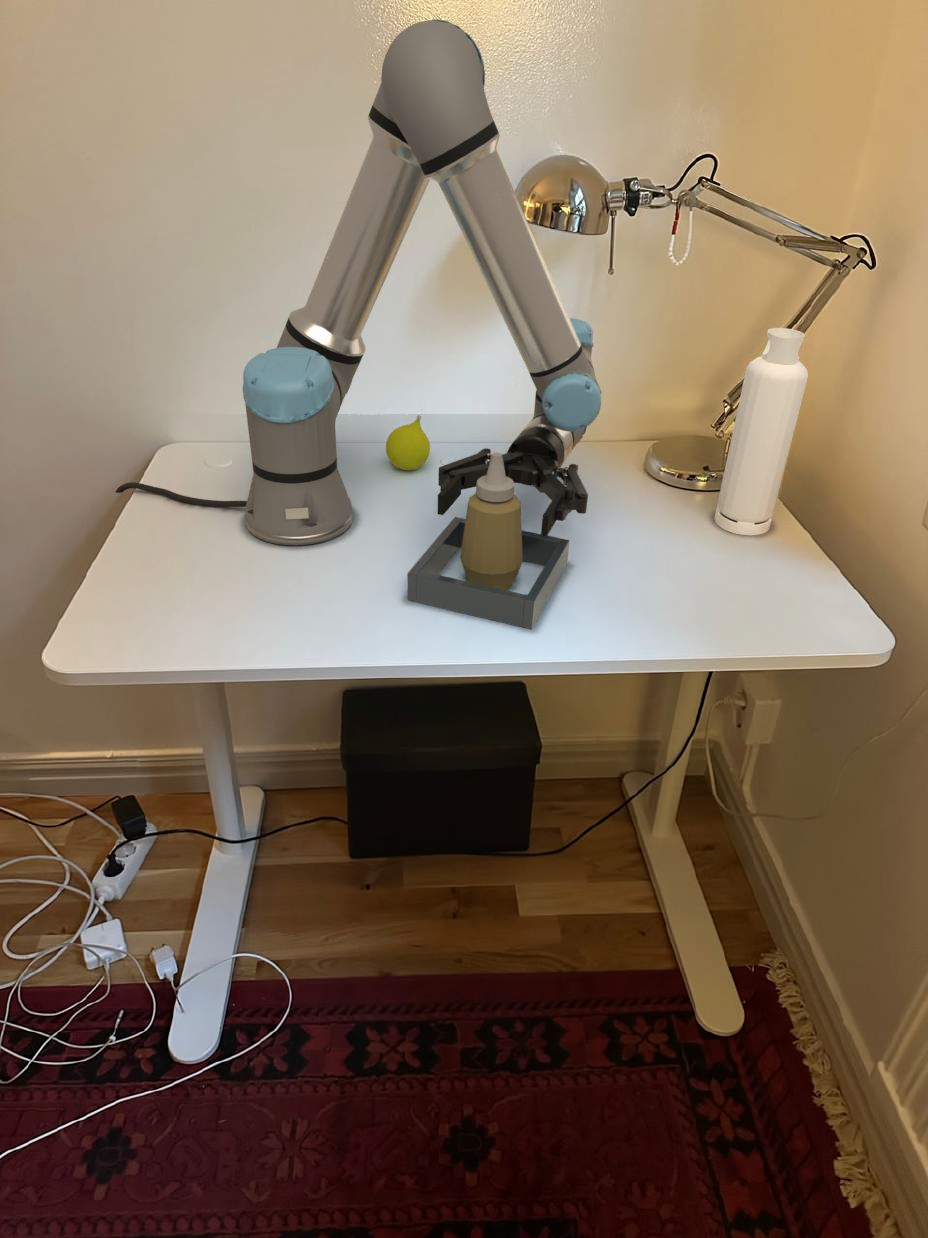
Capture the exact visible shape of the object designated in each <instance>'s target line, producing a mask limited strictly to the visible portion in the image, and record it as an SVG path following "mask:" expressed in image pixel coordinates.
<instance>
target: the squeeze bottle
mask: <svg viewBox="0 0 928 1238" xmlns="http://www.w3.org/2000/svg"><path fill="white" fill-rule="evenodd" d="M491 455H492V457H491V461H490V464H489V468H488V471H487V475H486V476H482V477H481V478H479V479H478V480H477V484H476V487H475V493H474V494H472V495H470V497H469V498H468V501H467V508H466V516H465V519H466V521H465V528H464V535H463V542H462V548H460V554H459V559H460V562H461V565H462V568H463V571H464V574H465V577H466V581H468V582H472V583H476V584H481V585H485V586H490V587H494V588H499V589H503V590H508V589H510V588H511V587H512V586H513V584H514V582H515V580H516V577H517V575H518V573H519V571H520V569H521V567H522V565H523V561H522V560H523V551H522V530H523V529H522V528H523V527H522V525H523V524H522V502H521V500H520V499H519V497H518V496H517V495H515V484H516V483H514V481H513V480H512V479H510V478H509V477H506V475H505V469H504V463H503V457H502V455H503V453H501V452H498V451H497V452H496V451H495V452H492V453H491Z"/></svg>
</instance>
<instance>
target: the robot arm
mask: <svg viewBox="0 0 928 1238" xmlns="http://www.w3.org/2000/svg"><path fill="white" fill-rule="evenodd" d="M381 67H382V68H381V78H380V81H381V82H380V85H379V87H378V89H377V92H376V95H375V98H374V100H373V102H372V105H371V107H370V110H369V113H368V115H367V120H368V124H369V127H370V131H371V132H372V139H371V141H370V144H369V147H368V149H367V152H366V154H365V156H364V160H363V161H362V164H361V165H360V166H361V167H360V168H359V170H358V174H357V175H356V176H357V177H356V178H355V181H354V184H353V187H352V188H351V191H350V194H349V196H348V199H347V201H346V204H345V206H344V209H343V211H342V214H341V216H340V219H339V220H338V224H337V226H336V229H335V231H334V234H333V236H332V238H331V241H330V243H329V246H328V249H327V251H326V253H325V255H324V258H323V261H322V264H321V266H320V268H319V271H318V273H317V276H316V278H315V281H314V283H313V285H312V288H311V291H310V293H309V296H308V297H307V301H306V303H305V305H304V306H303V307H300V308H297V309H294V310H291V312H290V313H289V316H288V318H287V320H286V322H285V326H284V328H283V331H282V333H281V335H280V338H279V341H278V342H277V345H276V348H275V347H274V348H271V349H267V350H266V352H265V353H264V352H260V353H258V354H256V355H255V356H253V357H252V358H250V360H249V361H248V362H247V363H246V365H245V367H244V370H243V376H242V380H243V381H242V397H243V400H244V404H245V405H244V406H245V412H246V413H245V414H246V420H247V429H248V439H249V446H250V447H249V448H250V456H251V463H252V472H253V473H252V479H251V482H250V488H249V492H248V494H247V500H214V499H205V498H197V497H190V496H187V495H182V494H179V493H177V492H173V491H171V490H170V489H169V490H168V489H166V488H162V487H157V486H152V485H148V484H146V483H145V484H144V483H140V482H135V481H133V482H131V481H130V482H126V483H123V484H121V485H120V486H118V487H117V489H116V490H115V493H116V494H122V493H124V491H126V490H130V489H135V490H141V491H145V492H149V493H153V494H158V495H162V496H165V497H168V498H171V499H172V500H175V501H178V502H183V503H187V504H193V505H197V506H205V507H216V508H245V510H244V511H245V512H244V517H245V525H246V528H247V530H248V532H250V534H251V535H253V536H254V537H256V538H257V539H259V540H262V541H264V542H267V543H271V544H275V545H280V546H281V545H283V546H307V545H315V544H319V543H323V542H326V541H329V540H332V539H334V538H337V537H338V536H340V535H342V534H344V533H345V532H346V531H347V530H348V529H350V527H351V526H352V524H353V520H354V512H353V505H352V502H351V499H350V496H349V494H348V492H347V490H346V486H345V484H344V482H343V479H342V477H341V474H340V472H339V468H338V455H337V453H338V452H337V436H336V420H337V418H338V414H339V412H340V409H341V407H342V404H343V403H344V399H345V397H346V395H347V394H348V392H349V390H350V388H351V385H352V382H353V379H354V377H355V375H356V373H357V370H358V368H359V366H360V364H361V361H362V359H363V357H364V354H365V352H366V345H365V342H364V340H363V337H362V333H363V330H364V328H365V326H366V324H367V322H368V319H369V317H370V315H371V313H372V311H373V309H374V306H375V304H376V301H377V299H378V297H379V295H380V293H381V290H382V288H383V286H384V284H385V281H386V279H387V277H388V275H389V273H390V270H391V269H392V266H393V264H394V261H395V259H396V257H397V254H398V253H399V251H400V248H401V246H402V243H403V242H404V239H405V237H406V234H407V232H408V230H409V227H410V226H411V223H412V221H413V219H414V216H415V215H416V212H417V210H418V208H419V206H420V203H421V201H422V199H423V196H424V194H425V192H426V190H427V188H428V185H429V183H430V181H434V182H435V183H437V184H438V186H439V188H440V190H441V192H442V194H443V196H444V198H445V200H446V203H447V205H448V207H449V208H450V211H451V213H452V215H453V217H454V219H455V221H456V223H457V225H458V227H459V229H460V231H461V233H462V235H463V238H464V240H465V243H466V244H467V245H468V249H469V250H470V252H471V255H472V256H473V259H474V260H475V262H476V265H477V267H478V269H479V271H480V273H481V275H482V277H483V279H484V282H485V284H486V286H487V288H488V290H489V293H490V294H491V295H492V298H493V300H494V302H495V304H496V306H497V308H498V310H499V312H500V315H501V316H502V319H503V321H504V324H505V325H506V327H507V329H508V331H509V333H510V335H511V337H512V339H513V341H514V344H515V347H516V348H517V350H518V352H519V355H520V356H521V358H522V361H523V363H524V364H525V367H526V369H527V370H528V373H529V377H530V378H531V381H532V382H533V384H534V387H535V389H536V390H535V396H534V397H535V399H534V410H533V417H532V419H531V420H530V421H529V423H528V424H527V425H526V426H525V427H524V428H523V430H521V432H520V433H519V434H518V435H517V437H516V438H515V439H514V440H513V441H512V442H511V444H510V446H509V447H508V449H507V451H506V452H505V453H502V457H503V463H504V469H505V475H506V477H509V478H510V479H512V480H513V481H514V483H515V484H522V485H523V486H524V485H525V486H529V487H531V486H532V487H534V488H535V489H536V490H537V491H539V493H540V494H543V493H544V494H545V495H546V497H548V498H549V500H550V501H551V502H550V503H549V504H548V506H547V508H546V509H545V511H544V513H543V514H542V519H541V531H540V534H541V535H544V536H549V534H550V532H551V531H552V529H553V527H554V526H555V524H556V522H557V521H560V522H563V521H565V520H566V518H567V517H568V515H569V514H570V513H571V512H572V511H576V513H578V514H580V515H581V514H582V515H584V514H586V513H587V509H588V500H589V493H588V492H587V490H586V487H585V485H584V483H583V482H582V479H581V478H580V476H579V474H578V473H579V472H578V471H579V465H578V464H576V463H570V464H569V465H568V467H566V466H565V467H563V465H564V464H565V462H566V460H567V459H568V458H569V456H570V454H571V453H572V451H573V450H574V449H575V447H576V446H577V444H578V443H579V442H581V440H582V439H583V437H584V436H585V434H586V431H587V428H588V427H589V426H590V425H592V424H593V423H594V421H595V420H596V419H597V417H598V416H599V414H600V410H601V407H602V389H601V387H600V386H599V383H598V381H597V380H598V379H597V377H596V373H595V369H594V366H593V361H592V353H593V352H592V351H593V348H594V342H593V341H594V328H593V326H592V325H591V324H590V323H589V322H588V321H585V320H582V319H579V318H574V317H573V318H572V317H570V316H569V314H568V311H567V309H566V307H565V305H564V303H563V300H562V298H561V295H560V293H559V291H558V289H557V286H556V284H555V282H554V279H553V277H552V274H551V273H550V269H549V268H548V265H547V263H546V260H545V259H544V256H543V253H542V252H541V249H540V247H539V244H538V242H537V240H536V238H535V236H534V233H533V231H532V228H531V226H530V224H529V222H528V220H527V217H526V215H525V212H524V210H523V208H522V206H521V203H520V201H519V198H518V196H517V194H516V192H515V190H514V187H513V185H512V183H511V180H510V178H509V175H508V173H507V171H506V168H505V166H504V164H503V162H502V160H501V158H500V155H499V153H498V149H497V146H498V143H499V139H500V136H501V134H500V132H499V129H498V127H497V125H496V123H495V120H494V118H493V115H492V112H491V110H490V106H489V103H488V98H487V96H486V95H487V94H486V92H485V84H486V81H485V80H486V70H485V62H484V60H483V56H482V54H481V51H480V48H479V47H478V45H477V44H476V42H475V40H474V38H472V36H471V35H470V34H469V33H467V32H466V31H464V29H462V28H461V27H460V26H459V25H457V24H454V23H452V22H451V21H449V20H445V19H437V18H434V19H426V20H423V21H418V22H416V23H413V24H411V25H409V26H408V27H406V28H405V29H403V30H402V31H400V33H398V34H397V35H396V37H395V38H394V39H393V41H392V42H391V43H390V45H389V46H388V49H387V51H386V53H385V55H384V59H383V63H382V66H381ZM491 457H492V450H491V449H490V448H485V447H484V448H482V449H481V450H480V451H478V452H477V453H474V454H472V455H469V456H467V457H464V458H461V459H459V460H455V461H453V462H450V463H447V464H444V465H441V466H439V467H438V479H437V480H438V482H437V483H438V484H437V485H438V487H439V488H440V491H439V493H437V515H440V516H444V515H445V514H446V513H447V511H448V510H449V509H450V508H451V507H452V506H453V504H454V503H456V501H457V500H458V498H459V497H460V496H461V495H462V491H463V490H468V489H472V488H476V484H477V480H478V479H479V478H481V477H482V476H486V475H487V471H488V468H489V464H490V461H491ZM559 478H560V479H561V480H559Z"/></svg>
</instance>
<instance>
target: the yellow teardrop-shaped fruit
mask: <svg viewBox="0 0 928 1238" xmlns="http://www.w3.org/2000/svg"><path fill="white" fill-rule="evenodd" d="M421 411H423V409H422V408H421ZM421 419H422V415H421V414H418V415H417V417H416V419H415V420H414V421H413V422H412V423H409V424H404V425H401V426H398V427H397V428H395V429H393V430H392V432H391V433H390V434H389V435H388V437H387V439H386V442H385V453H386V456H387V459H388V460H389V461H390V462H391V464H392V465H393V466H395V467H396V468H398V469H400V470H403V471H413V470H417V469H418V468H420V467H422V466H423V465H425V463H426V462H427V460H428V458H429V456H430V453H431V444H430V440H429V438H428V436H427V434H426V433H425V432H424V430H423V428H422V426H421Z"/></svg>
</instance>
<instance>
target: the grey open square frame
mask: <svg viewBox="0 0 928 1238" xmlns="http://www.w3.org/2000/svg"><path fill="white" fill-rule="evenodd" d="M465 521H466V518H463V517H458V516H454V518H453V519H451V521H450V522H449V523H448V525H447V526H446V527H445V528H444V529H443V531H442V532H441V533H440V534H439V535H438V536H437V538H436V539H435V540H434V541H433V542H432V543H431V545H430V546H429V547H428V548H427V550H425V552H424V553H423V554H422V556H420V557H419V559H418V560H417V561H416V563H414V565H413V566H412V567H411V569H410V570H409V571H408V572H407V573H406V574H407V577H406V578H407V601H408V602H413V603H418V604H422V605H426V606H430V607H435V608H439V609H444V610H447V611H452V612H455V613H460V614H465V615H468V616H472V617H476V618H482V619H486V620H490V621H494V622H498V623H503V624H507V625H511V626H516V627H518V628H519V627H520V628H523V629H524V628H525V629H529V630H532V629H533V628H534V626H535V624H536V622H537V620H538V619H539V617H540V615H541V613H542V612H543V610H544V608H545V607H546V605H547V602H548V601H549V599H550V597H551V595H552V594H553V592H554V589H555V588H556V586H557V585H558V583H559V581H560V579H561V577H562V575H563V574H564V572H565V571H566V568H567V566H568V561H569V550H570V544H571V543H570V539H565V538H561V537H556V536H551V535H547V536H544V535H541V533H536V532H532V531H527V530H523V529H522V551H523V560H522V562H526V563H530V564H535V565H539V566H544V567H543V568H542V570H541V572H540V574H539V575H538V576H537V578H536V580H535V582H534V584H533V585H532V587H531V588H530V590H529V592H528V594H525V593H521V592H516V591H512V590H508V589H507V590H503V589H499V588H494V587H490V586H485V585H481V584H476V583H472V582H468V580H463V579H459V578H453V577H449V576H445V575H441V574H440V573H441V571H442V570H443V569H444V568H445V566H446V565H447V564H448V562H450V560H451V559H452V557H453V556H454V555H455V554H456V553H457V551H458V550H459V548H460V549H461V548H462V542H463V535H464V528H465Z"/></svg>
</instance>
